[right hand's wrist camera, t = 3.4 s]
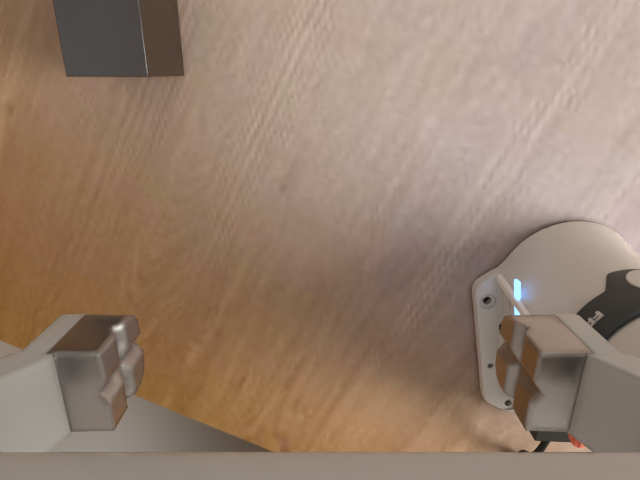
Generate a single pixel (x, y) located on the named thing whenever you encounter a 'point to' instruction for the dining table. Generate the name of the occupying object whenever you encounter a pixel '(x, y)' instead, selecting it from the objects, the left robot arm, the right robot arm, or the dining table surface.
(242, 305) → the dining table surface
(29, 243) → the dining table surface
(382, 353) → the dining table surface
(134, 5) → the bar
